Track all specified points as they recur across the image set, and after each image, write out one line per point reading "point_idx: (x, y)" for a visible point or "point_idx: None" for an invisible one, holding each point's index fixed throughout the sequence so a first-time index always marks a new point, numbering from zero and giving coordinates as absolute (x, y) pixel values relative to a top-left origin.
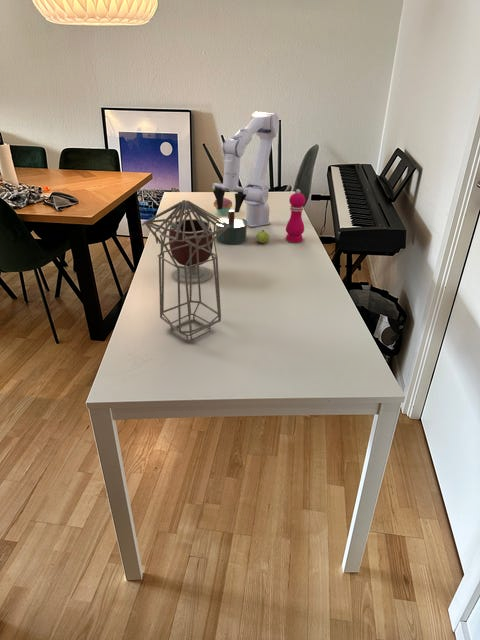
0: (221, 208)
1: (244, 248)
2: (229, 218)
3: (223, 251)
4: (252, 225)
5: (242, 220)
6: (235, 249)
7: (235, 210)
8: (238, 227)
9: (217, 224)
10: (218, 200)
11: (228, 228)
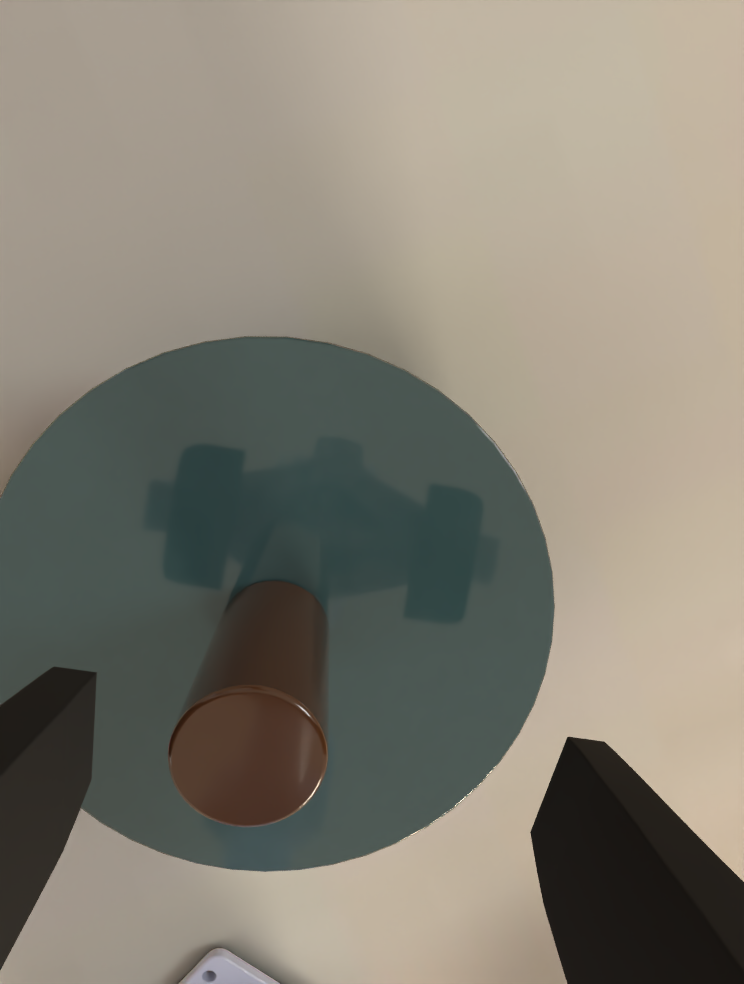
0: (543, 822)
1: (19, 312)
2: (283, 615)
3: (226, 109)
4: (214, 980)
5: (129, 775)
6: (111, 236)
7: (55, 696)
8: (45, 432)
9: (461, 427)
10: (730, 943)
11: (211, 342)
